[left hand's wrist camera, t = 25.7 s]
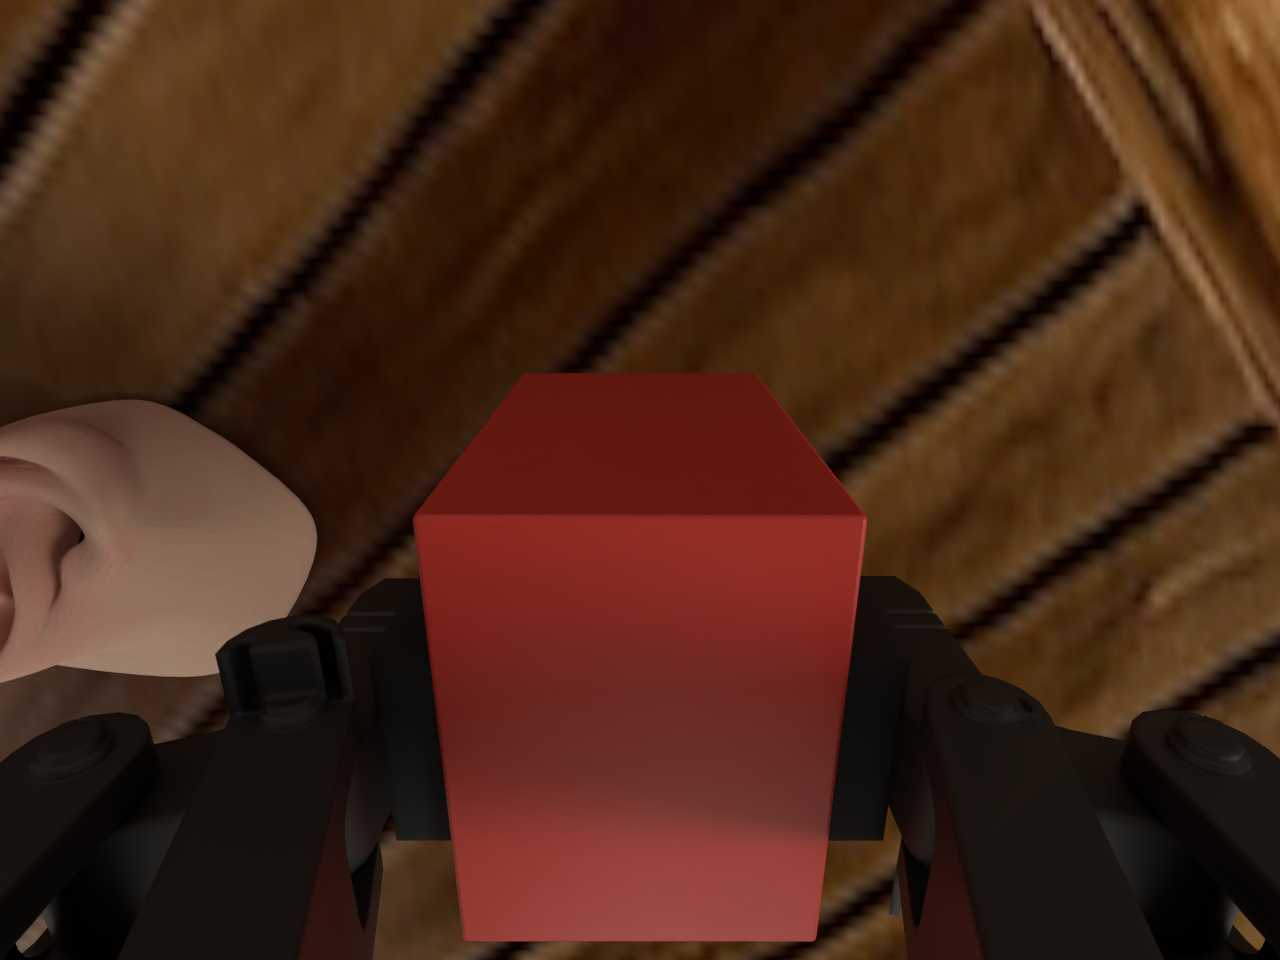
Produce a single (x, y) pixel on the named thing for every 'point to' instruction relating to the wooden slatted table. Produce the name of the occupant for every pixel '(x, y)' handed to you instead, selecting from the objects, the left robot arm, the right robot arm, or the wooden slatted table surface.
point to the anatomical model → (138, 542)
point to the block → (639, 660)
